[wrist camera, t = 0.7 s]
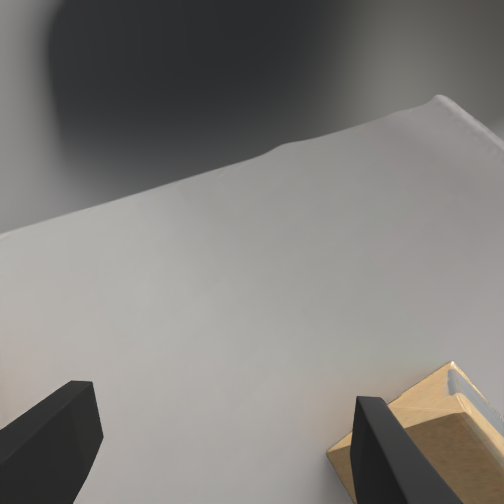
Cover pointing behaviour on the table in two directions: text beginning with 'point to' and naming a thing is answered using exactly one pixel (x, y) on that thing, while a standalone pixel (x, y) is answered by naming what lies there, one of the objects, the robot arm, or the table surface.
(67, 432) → the robot arm
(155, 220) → the table surface
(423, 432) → the sandwich container
